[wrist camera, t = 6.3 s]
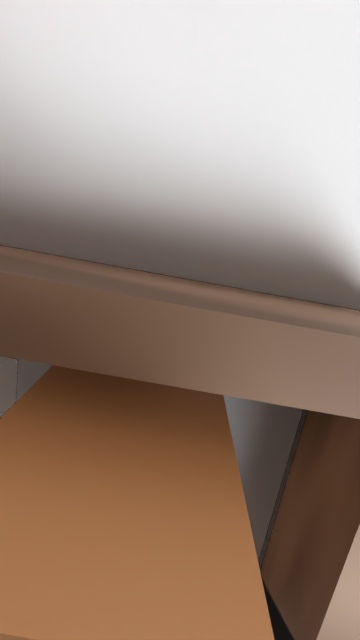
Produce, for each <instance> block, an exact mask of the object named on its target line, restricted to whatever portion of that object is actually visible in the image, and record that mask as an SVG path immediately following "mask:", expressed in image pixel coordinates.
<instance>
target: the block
mask: <svg viewBox="0 0 360 640" xmlns="http://www.w3.org/2000/svg"><path fill="white" fill-rule="evenodd" d="M0 640H274V635H273V630H272V626H271V621H270V616H269V611H268V606H267V602H266V597H265V592H264V587H263V582H262V578H261V573H260V568H259V563H258V559H257V554H256V549H255V544H254V539H253V535H252V530H251V525H250V520H249V516H248V511H247V506H246V501H245V496H244V492H243V487H242V482H241V477H240V473H239V468H238V463H237V458H236V453H235V449H234V444H233V439H232V434H231V430H230V425H229V420H228V415H227V410H226V406H225V401H224V396H223V395H220V394H214V393H208V392H203V391H197V390H191V389H185V388H180V387H174V386H168V385H163V384H157V383H151V382H146V381H140V380H134V379H128V378H123V377H117V376H111V375H106V374H100V373H94V372H89V371H83V370H77V369H72V368H66V367H60V366H54V365H52V366H51V368H50V369H49V370H48V371H47V372H46V373H45V374H44V375H43V376H42V377H41V378H40V379H39V380H38V381H37V382H36V383H35V384H34V385H33V386H32V387H31V388H30V389H29V390H28V391H27V392H26V393H25V394H24V395H23V396H22V397H21V398H20V399H19V400H18V401H17V402H16V403H15V404H14V405H13V406H12V407H11V408H10V409H9V410H8V411H7V412H6V413H5V414H4V415H3V416H2V417H1V418H0Z"/></svg>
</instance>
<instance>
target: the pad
mask: <svg viewBox="0 0 360 640" xmlns="http://www.w3.org/2000/svg"><path fill="white" fill-rule="evenodd" d="M51 366H52V365H49V364H43V363H37V362H32V361H26V360H20V359H19V361H18V377H17V392H16V402H17V401H18V400H19V399H20V398H21V397H22V396H23V395H24V394H25V393H26V392H27V391H28V390H29V389H30V388H31V387H32V386H33V385H34V384H35V383H36V382H37V381H38V380H39V379H40V378H41V377H42V376H43V375H44V374H45V373H46V372H47V371H48V370H49V369H50V368H51ZM223 396H224V401H225V406H226V410H227V415H228V420H229V425H230V430H231V434H232V439H233V444H234V449H235V453H236V458H237V463H238V468H239V473H240V477H241V482H242V487H243V492H244V496H245V501H246V506H247V511H248V516H249V520H250V525H251V530H252V535H253V539H254V544H255V549H256V554H257V559H258V561H259V557H260V554H261V550H262V547H263V544H264V540H265V537H266V534H267V530H268V527H269V523H270V520H271V517H272V513H273V510H274V506H275V503H276V500H277V496H278V493H279V489H280V486H281V483H282V479H283V476H284V473H285V469H286V466H287V462H288V459H289V456H290V452H291V449H292V445H293V442H294V439H295V435H296V432H297V428H298V425H299V422H300V418H301V415H302V412H303V409H299V408H294V407H288V406H282V405H277V404H271V403H265V402H259V401H254V400H248V399H242V398H237V397H231V396H225V395H223Z"/></svg>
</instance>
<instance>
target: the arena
mask: <svg viewBox="0 0 360 640" xmlns="http://www.w3.org/2000/svg"><path fill="white" fill-rule="evenodd" d="M0 356H3V357H9V358H15V359H20V360H26V361H32V362H37V363H43V364H49V365H54V366H60V367H66V368H72V369H77V370H83V371H89V372H94V373H100V374H106V375H111V376H117V377H123V378H128V379H134V380H140V381H146V382H151V383H157V384H163V385H168V386H174V387H180V388H185V389H191V390H197V391H203V392H208V393H214V394H220V395H225V396H231V397H237V398H242V399H248V400H254V401H259V402H265V403H271V404H277V405H282V406H288V407H294V408H299V409H305V410H308V413H307V416H306V420H305V423H304V426H303V430H302V433H301V436H300V440H299V443H298V446H297V450H296V453H295V456H294V460H293V463H292V466H291V470H290V473H289V476H288V480H287V483H286V486H285V490H284V493H283V496H282V500H281V503H280V506H279V510H278V513H277V516H276V520H275V523H274V527H273V530H272V533H271V537H270V540H269V543H268V547H267V550H266V553H265V557H264V560H263V563H262V567H261V570H260V573H261V576H262V578H263V580H264V582H265V584H266V586H267V588H268V590H269V592H270V594H271V596H272V598H273V600H274V602H275V604H276V605H277V607H278V609H279V611H280V613H281V615H282V617H283V619H284V621H285V623H286V624H287V626H288V628H289V630H290V632H291V633H292V635H293V637H294V639H295V640H360V311H359V310H354V309H348V308H343V307H337V306H332V305H326V304H321V303H315V302H310V301H304V300H299V299H293V298H288V297H282V296H277V295H271V294H266V293H260V292H254V291H249V290H243V289H238V288H232V287H227V286H221V285H216V284H210V283H205V282H199V281H194V280H188V279H183V278H177V277H172V276H166V275H161V274H155V273H150V272H144V271H139V270H133V269H128V268H122V267H117V266H111V265H106V264H100V263H95V262H89V261H84V260H78V259H73V258H67V257H62V256H56V255H51V254H45V253H40V252H34V251H28V250H23V249H17V248H12V247H6V246H1V245H0Z"/></svg>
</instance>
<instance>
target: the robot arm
mask: <svg viewBox="0 0 360 640" xmlns="http://www.w3.org/2000/svg"><path fill="white" fill-rule="evenodd" d="M261 578H262V576H261ZM262 582H263V587H264V592H265V597H266V602H267V606H268V611H269V616H270V621H271V626H272V630H273V635H274V640H295V639H294V637H293V635H292V633H291V632H290V630H289V628H288V626H287V624H286V623H285V621H284V619H283V617H282V615H281V613H280V611H279V609H278V607H277V605H276V604H275V602H274V600H273V598H272V596H271V594H270V592H269V590H268V588H267V586H266V584H265V582H264V580H263V578H262Z"/></svg>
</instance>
